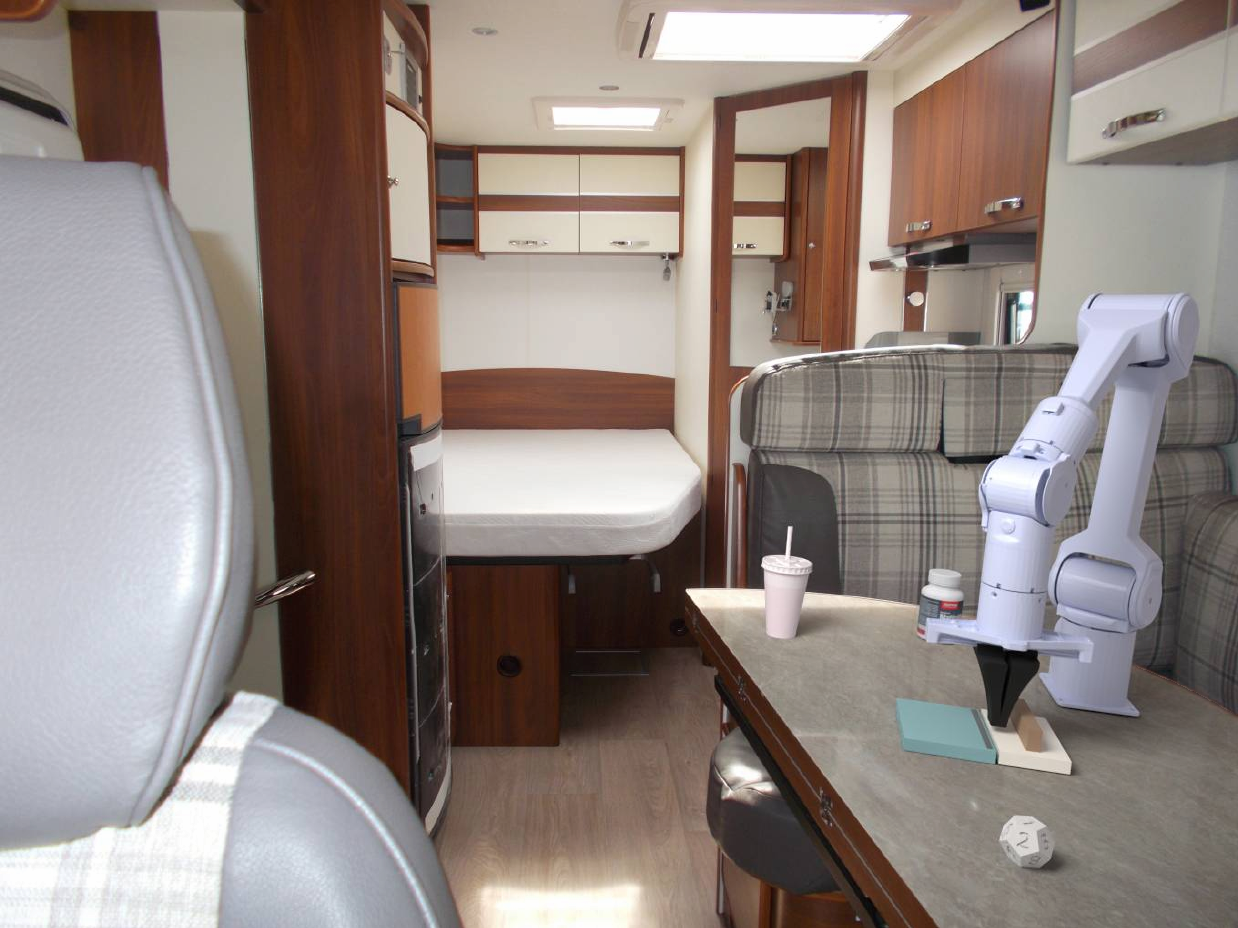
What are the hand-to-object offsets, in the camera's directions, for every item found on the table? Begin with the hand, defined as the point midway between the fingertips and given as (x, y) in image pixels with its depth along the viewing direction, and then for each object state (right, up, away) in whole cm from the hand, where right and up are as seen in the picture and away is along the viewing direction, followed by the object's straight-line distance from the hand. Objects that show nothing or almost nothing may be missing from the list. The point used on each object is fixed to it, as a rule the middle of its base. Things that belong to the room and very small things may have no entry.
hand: (996, 722), depth 85 cm
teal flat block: (-5, -2, +1) cm, 5 cm away
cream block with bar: (+2, -2, 0) cm, 3 cm away
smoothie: (-15, +3, +29) cm, 33 cm away
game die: (-6, -5, -20) cm, 21 cm away
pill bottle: (+6, +2, +32) cm, 32 cm away
